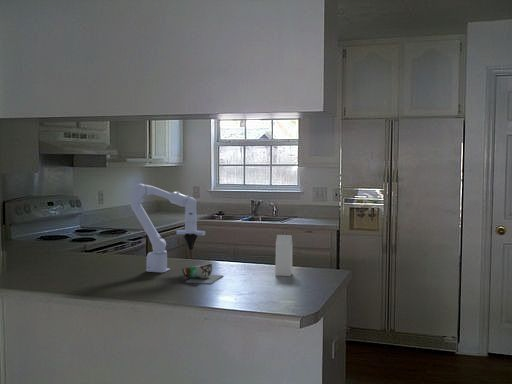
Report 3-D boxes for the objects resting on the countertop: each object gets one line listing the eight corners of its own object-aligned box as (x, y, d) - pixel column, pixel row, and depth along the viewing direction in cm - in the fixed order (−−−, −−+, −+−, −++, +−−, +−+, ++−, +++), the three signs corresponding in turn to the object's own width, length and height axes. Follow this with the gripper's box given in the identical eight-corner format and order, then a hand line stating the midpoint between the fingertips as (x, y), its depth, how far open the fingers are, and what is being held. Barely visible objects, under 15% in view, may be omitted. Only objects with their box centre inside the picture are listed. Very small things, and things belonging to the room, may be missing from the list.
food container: (182, 282, 240) (201, 280, 236) (180, 268, 240) (199, 266, 236) (195, 278, 251) (214, 276, 247) (194, 265, 252) (212, 263, 248)
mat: (185, 282, 237) (185, 281, 237) (199, 274, 253) (199, 273, 253) (210, 284, 234) (210, 283, 234) (223, 276, 249) (223, 275, 249)
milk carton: (290, 276, 250) (290, 236, 249) (275, 275, 251) (275, 235, 250) (292, 273, 257) (292, 234, 256) (277, 272, 258) (278, 233, 257)
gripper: (173, 222, 259) (174, 249, 260) (201, 223, 255) (201, 251, 256) (179, 220, 266) (180, 247, 267) (206, 221, 262) (207, 249, 263)
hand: (191, 249), depth 262 cm, fingers closed
